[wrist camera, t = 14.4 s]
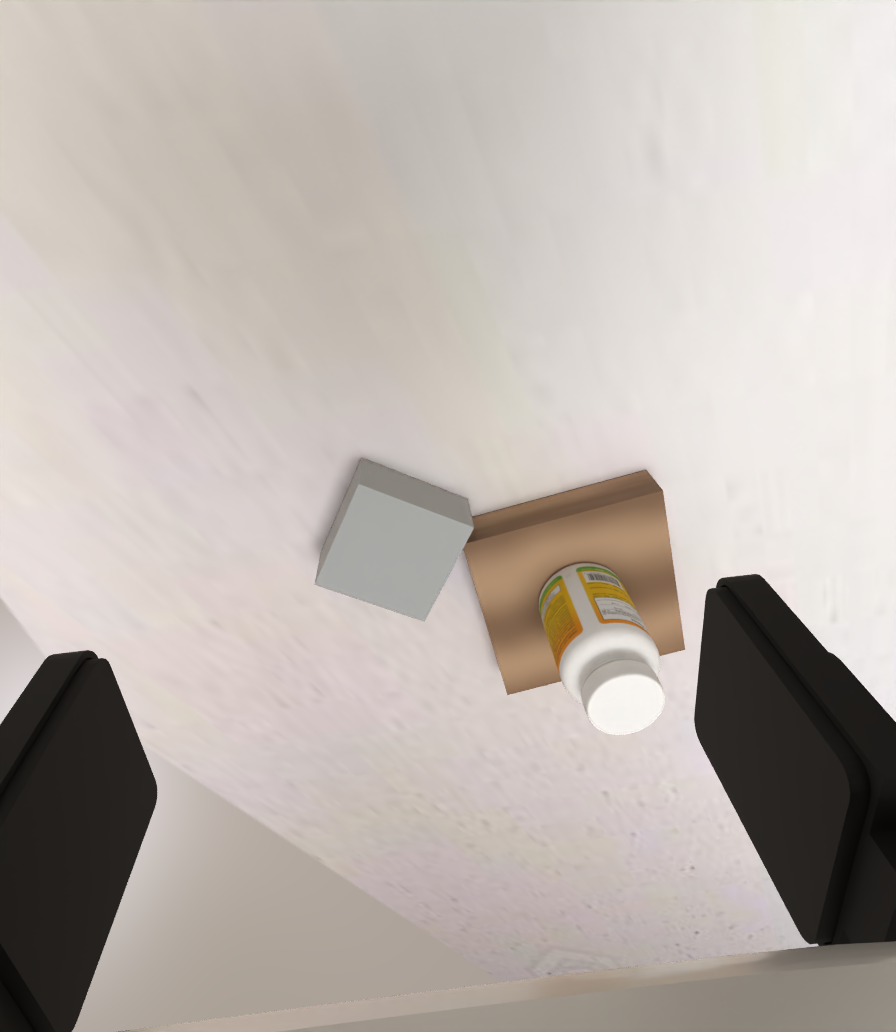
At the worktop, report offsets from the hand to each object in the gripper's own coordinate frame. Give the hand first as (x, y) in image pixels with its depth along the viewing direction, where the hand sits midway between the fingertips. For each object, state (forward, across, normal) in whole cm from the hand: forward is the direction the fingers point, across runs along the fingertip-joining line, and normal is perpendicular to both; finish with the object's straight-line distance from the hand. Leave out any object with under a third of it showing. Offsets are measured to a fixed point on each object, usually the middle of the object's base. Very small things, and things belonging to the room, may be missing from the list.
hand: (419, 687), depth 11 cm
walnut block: (+30, -9, +18) cm, 36 cm away
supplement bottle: (+28, -9, +18) cm, 34 cm away
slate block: (+31, +2, +13) cm, 33 cm away
